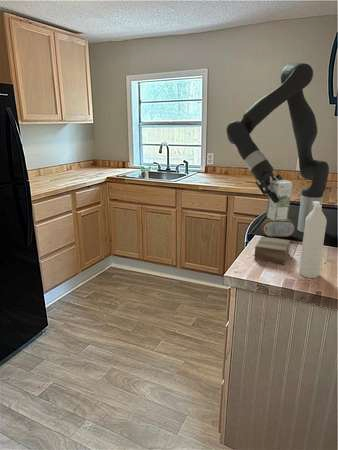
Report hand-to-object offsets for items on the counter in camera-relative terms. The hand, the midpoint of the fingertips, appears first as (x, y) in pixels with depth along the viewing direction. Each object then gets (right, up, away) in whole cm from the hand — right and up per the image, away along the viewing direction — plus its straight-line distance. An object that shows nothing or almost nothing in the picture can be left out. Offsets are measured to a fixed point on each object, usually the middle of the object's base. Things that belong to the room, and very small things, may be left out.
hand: (282, 200), depth 120 cm
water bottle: (+7, -26, -6) cm, 28 cm away
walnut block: (-2, -22, +8) cm, 23 cm away
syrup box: (-1, -7, +4) cm, 8 cm away
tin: (+8, -15, +29) cm, 33 cm away
